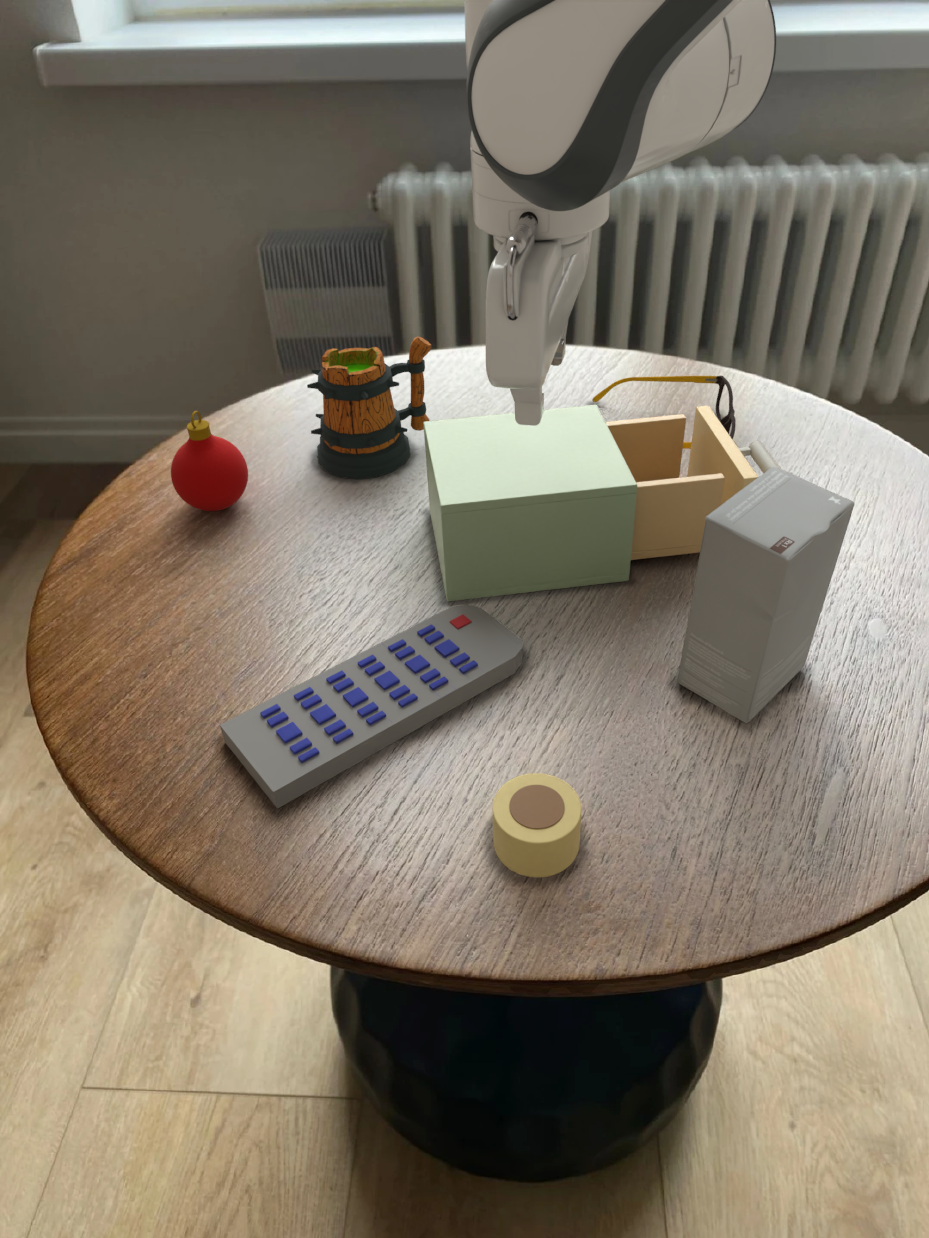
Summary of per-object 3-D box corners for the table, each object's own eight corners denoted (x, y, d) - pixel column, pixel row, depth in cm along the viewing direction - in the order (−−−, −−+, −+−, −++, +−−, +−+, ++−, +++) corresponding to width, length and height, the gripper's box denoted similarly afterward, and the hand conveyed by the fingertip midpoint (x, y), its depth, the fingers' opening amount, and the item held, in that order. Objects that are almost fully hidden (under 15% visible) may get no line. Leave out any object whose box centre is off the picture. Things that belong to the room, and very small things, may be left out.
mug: (326, 489, 95) (310, 381, 87) (306, 441, 102) (289, 337, 95) (452, 463, 98) (446, 356, 90) (423, 418, 105) (415, 315, 98)
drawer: (742, 474, 92) (754, 400, 87) (792, 549, 83) (810, 471, 78) (549, 495, 91) (550, 421, 86) (578, 574, 82) (581, 496, 76)
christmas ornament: (200, 482, 97) (176, 391, 90) (265, 488, 95) (246, 396, 89) (167, 521, 92) (140, 428, 85) (236, 529, 90) (214, 434, 84)
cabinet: (591, 495, 92) (596, 404, 86) (629, 581, 82) (637, 484, 76) (429, 512, 91) (423, 421, 85) (446, 602, 81) (440, 505, 75)
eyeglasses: (733, 478, 94) (739, 441, 91) (583, 470, 96) (585, 435, 93) (726, 408, 104) (731, 373, 102) (592, 402, 106) (593, 368, 104)
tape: (569, 802, 64) (571, 766, 62) (588, 871, 60) (590, 836, 58) (487, 813, 64) (486, 777, 61) (500, 883, 60) (500, 848, 57)
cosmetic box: (734, 631, 77) (766, 457, 66) (815, 674, 72) (863, 495, 62) (669, 685, 72) (694, 508, 62) (752, 734, 68) (793, 552, 58)
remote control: (224, 742, 70) (218, 721, 68) (472, 612, 80) (470, 591, 78) (277, 810, 65) (271, 789, 63) (534, 663, 75) (534, 641, 73)
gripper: (564, 249, 54) (561, 465, 62) (609, 149, 69) (602, 335, 78) (454, 246, 55) (466, 458, 64) (522, 149, 70) (525, 331, 79)
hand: (541, 389), depth 71 cm, fingers open, 8 cm apart
